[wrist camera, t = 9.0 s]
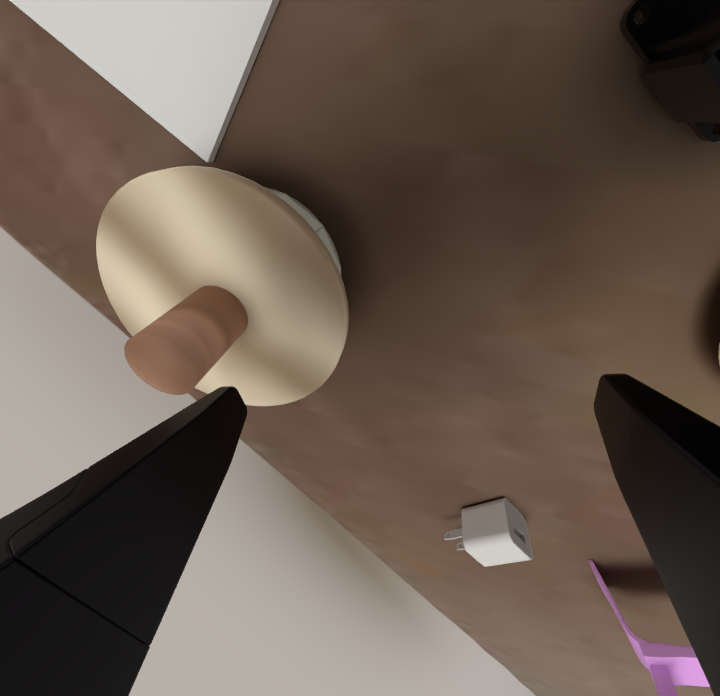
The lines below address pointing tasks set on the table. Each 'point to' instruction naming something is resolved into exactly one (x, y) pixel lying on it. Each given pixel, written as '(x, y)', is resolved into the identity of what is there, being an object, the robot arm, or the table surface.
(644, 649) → the toy chair
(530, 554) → the usb wall charger
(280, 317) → the lid
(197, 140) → the mat
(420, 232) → the table surface
